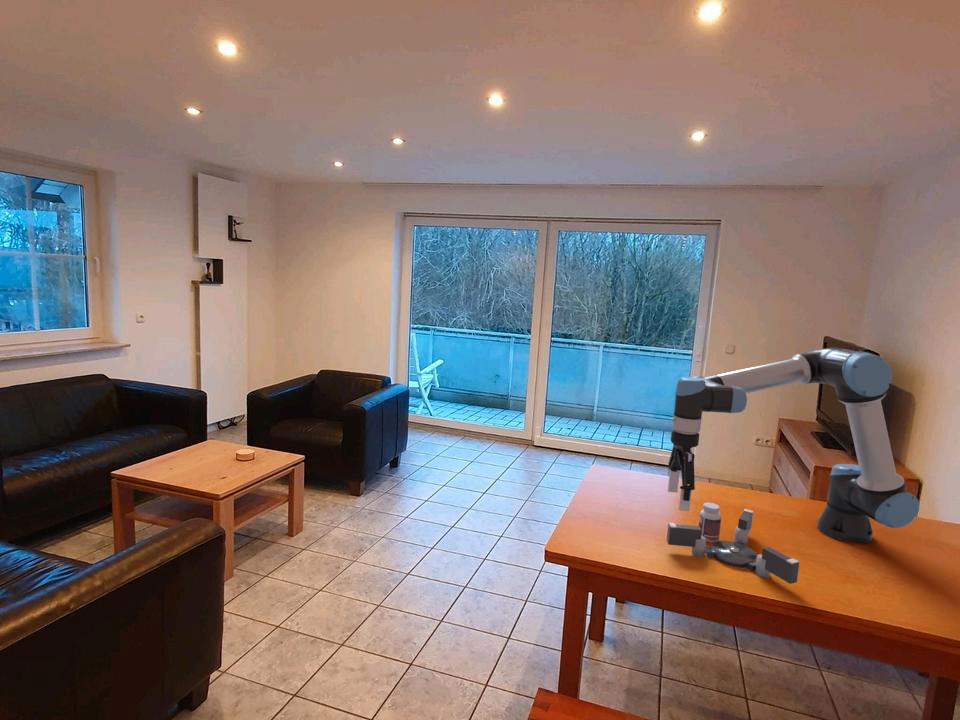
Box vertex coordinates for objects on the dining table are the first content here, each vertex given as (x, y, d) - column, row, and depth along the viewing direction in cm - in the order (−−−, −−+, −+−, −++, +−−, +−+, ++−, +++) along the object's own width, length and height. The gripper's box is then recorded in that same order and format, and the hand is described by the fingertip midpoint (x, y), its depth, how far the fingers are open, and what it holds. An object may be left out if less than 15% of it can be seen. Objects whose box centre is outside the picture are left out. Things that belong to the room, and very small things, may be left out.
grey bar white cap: (752, 572, 150) (755, 544, 149) (761, 569, 151) (765, 542, 150) (787, 593, 140) (791, 563, 139) (796, 590, 142) (801, 561, 140)
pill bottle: (722, 540, 168) (726, 507, 166) (711, 545, 165) (714, 511, 163) (705, 532, 173) (708, 500, 172) (693, 536, 170) (696, 503, 168)
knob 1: (745, 548, 164) (748, 522, 162) (732, 544, 166) (735, 519, 164) (752, 535, 172) (755, 511, 171) (740, 532, 174) (743, 508, 173)
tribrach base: (744, 546, 165) (745, 538, 164) (764, 572, 150) (765, 563, 150) (698, 542, 166) (699, 534, 166) (713, 567, 152) (714, 558, 151)
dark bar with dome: (702, 551, 161) (705, 525, 160) (706, 557, 157) (708, 530, 156) (665, 547, 162) (667, 521, 161) (668, 553, 158) (670, 527, 157)
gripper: (662, 419, 167) (656, 483, 170) (683, 442, 143) (674, 517, 146) (687, 420, 166) (680, 485, 169) (712, 444, 142) (703, 520, 145)
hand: (677, 500), depth 158 cm, fingers open, 13 cm apart
